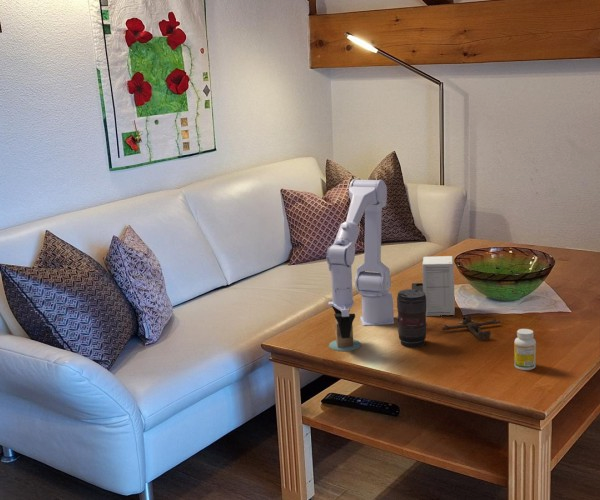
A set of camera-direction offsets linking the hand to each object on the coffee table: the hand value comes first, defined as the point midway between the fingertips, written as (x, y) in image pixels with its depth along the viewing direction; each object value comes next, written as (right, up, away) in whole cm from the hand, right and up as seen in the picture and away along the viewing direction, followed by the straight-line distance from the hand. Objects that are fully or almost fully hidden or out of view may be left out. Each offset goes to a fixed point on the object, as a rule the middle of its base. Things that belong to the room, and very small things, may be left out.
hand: (344, 332), depth 233 cm
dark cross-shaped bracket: (+38, -1, +6) cm, 38 cm away
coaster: (0, -4, +1) cm, 4 cm away
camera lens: (+19, -3, 0) cm, 20 cm away
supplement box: (+31, +4, +25) cm, 40 cm away
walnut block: (0, -3, +1) cm, 3 cm away
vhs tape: (+29, +8, +45) cm, 54 cm away
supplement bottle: (+45, -7, -21) cm, 50 cm away
